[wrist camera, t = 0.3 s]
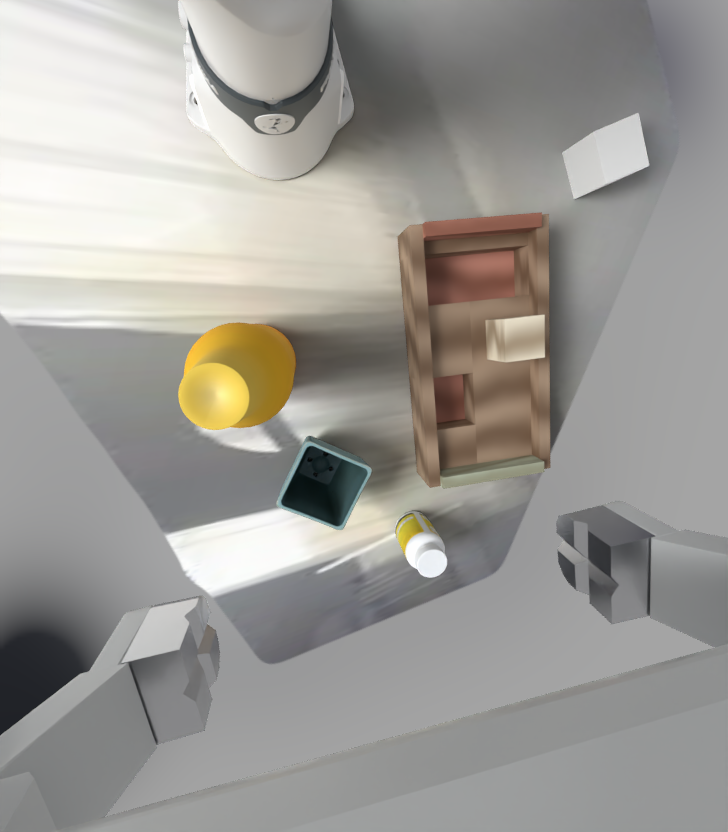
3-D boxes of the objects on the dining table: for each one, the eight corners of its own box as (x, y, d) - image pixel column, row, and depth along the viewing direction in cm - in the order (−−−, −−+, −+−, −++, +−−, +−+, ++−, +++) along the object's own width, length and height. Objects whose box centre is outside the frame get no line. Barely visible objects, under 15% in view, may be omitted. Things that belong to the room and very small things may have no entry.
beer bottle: (309, 348, 54) (319, 371, 26) (273, 409, 55) (245, 494, 26) (245, 309, 51) (179, 287, 23) (209, 373, 52) (104, 424, 24)
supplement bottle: (391, 542, 61) (407, 581, 52) (397, 508, 60) (416, 541, 51) (425, 545, 62) (447, 584, 53) (432, 512, 61) (456, 545, 52)
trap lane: (397, 236, 52) (412, 223, 46) (522, 226, 54) (553, 211, 48) (417, 472, 59) (432, 490, 53) (526, 454, 62) (554, 470, 55)
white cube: (573, 199, 55) (605, 184, 49) (561, 152, 53) (593, 131, 48) (613, 182, 55) (649, 165, 49) (602, 135, 54) (638, 112, 48)
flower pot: (363, 447, 58) (374, 469, 49) (335, 502, 59) (342, 532, 50) (305, 422, 56) (306, 439, 47) (278, 479, 57) (274, 506, 48)
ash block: (485, 320, 52) (504, 319, 47) (522, 315, 53) (544, 314, 48) (487, 359, 53) (505, 362, 48) (523, 354, 54) (544, 357, 49)
